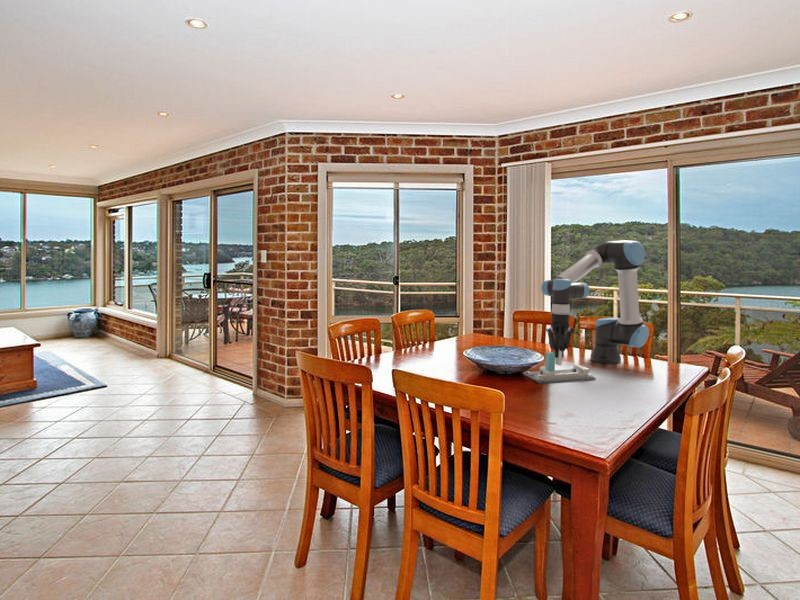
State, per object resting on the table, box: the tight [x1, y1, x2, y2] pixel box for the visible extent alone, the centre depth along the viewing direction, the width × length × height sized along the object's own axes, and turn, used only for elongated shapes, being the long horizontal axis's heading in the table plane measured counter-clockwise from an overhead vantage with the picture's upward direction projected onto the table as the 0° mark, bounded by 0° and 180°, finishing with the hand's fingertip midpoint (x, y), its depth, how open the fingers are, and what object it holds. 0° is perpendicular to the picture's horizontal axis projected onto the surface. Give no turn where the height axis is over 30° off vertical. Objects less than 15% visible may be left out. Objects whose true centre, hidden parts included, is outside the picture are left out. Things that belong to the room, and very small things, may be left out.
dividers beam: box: [537, 363, 591, 380], centre depth 218 cm, size 25×10×4 cm, turn 103°
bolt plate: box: [522, 367, 596, 385], centre depth 221 cm, size 28×16×2 cm, turn 103°
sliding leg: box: [539, 351, 556, 375], centre depth 216 cm, size 3×10×12 cm, turn 13°
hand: (558, 364), depth 215 cm, fingers closed
